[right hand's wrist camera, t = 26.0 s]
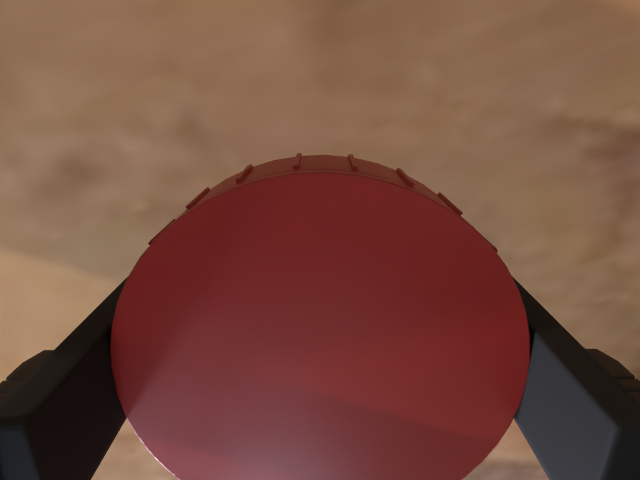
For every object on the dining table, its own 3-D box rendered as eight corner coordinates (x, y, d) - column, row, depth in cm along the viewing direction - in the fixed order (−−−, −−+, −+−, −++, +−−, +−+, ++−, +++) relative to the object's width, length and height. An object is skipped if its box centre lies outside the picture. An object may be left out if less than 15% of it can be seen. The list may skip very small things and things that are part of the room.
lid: (101, 173, 11) (47, 194, 9) (504, 130, 11) (551, 143, 8) (185, 470, 14) (161, 539, 12) (490, 446, 14) (521, 513, 12)
